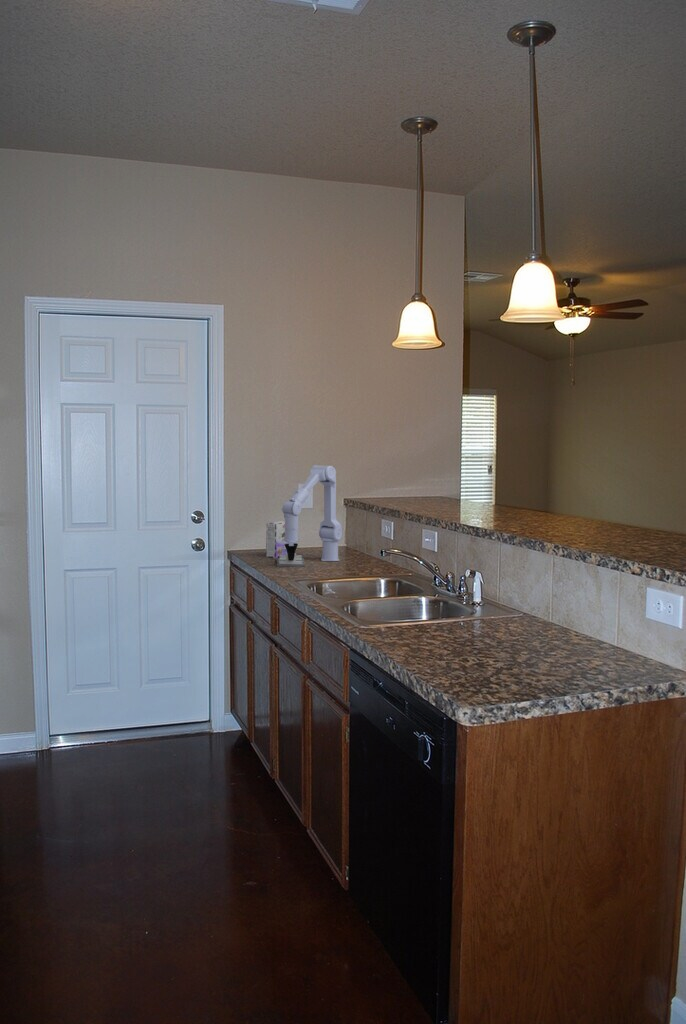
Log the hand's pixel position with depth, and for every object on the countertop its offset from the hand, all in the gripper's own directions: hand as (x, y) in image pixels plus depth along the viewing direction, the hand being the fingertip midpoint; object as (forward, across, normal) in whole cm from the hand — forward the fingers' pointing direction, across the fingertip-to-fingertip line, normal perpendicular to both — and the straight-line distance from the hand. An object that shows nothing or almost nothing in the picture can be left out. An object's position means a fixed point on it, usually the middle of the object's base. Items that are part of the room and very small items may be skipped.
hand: (291, 560), depth 344 cm
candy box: (+3, -30, -5) cm, 31 cm away
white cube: (+1, -4, 0) cm, 5 cm away
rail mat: (+3, -9, 0) cm, 10 cm away
